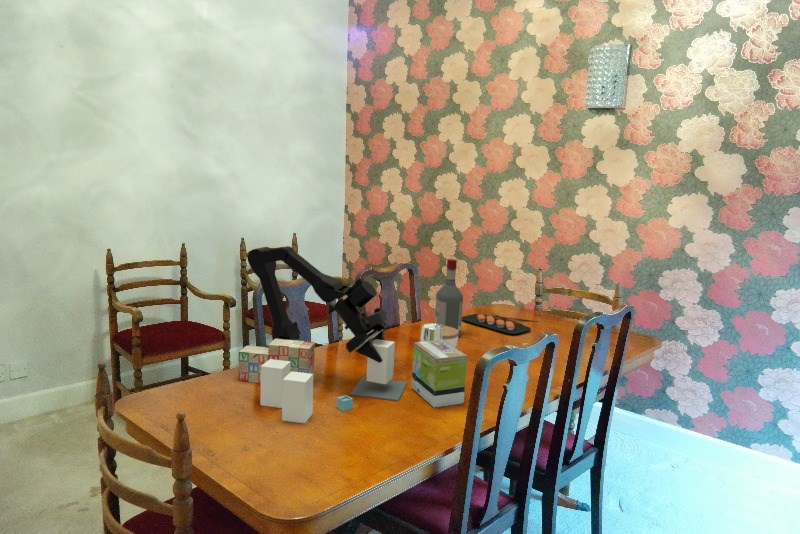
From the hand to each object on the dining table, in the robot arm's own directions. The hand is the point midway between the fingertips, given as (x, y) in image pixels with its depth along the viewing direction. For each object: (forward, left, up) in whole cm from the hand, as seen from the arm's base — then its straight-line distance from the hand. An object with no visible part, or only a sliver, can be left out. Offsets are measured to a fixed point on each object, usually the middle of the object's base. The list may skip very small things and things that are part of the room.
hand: (385, 358), depth 171 cm
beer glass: (+11, +20, -10) cm, 25 cm away
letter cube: (-7, -16, -10) cm, 20 cm away
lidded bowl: (+12, +37, -10) cm, 40 cm away
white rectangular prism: (-1, 0, -7) cm, 7 cm away
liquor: (+12, +62, -10) cm, 64 cm away
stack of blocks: (-32, -3, -10) cm, 34 cm away
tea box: (+16, 0, -10) cm, 19 cm away
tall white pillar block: (-17, -25, -10) cm, 32 cm away
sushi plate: (+34, +90, -10) cm, 96 cm away
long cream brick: (-26, -18, -10) cm, 33 cm away
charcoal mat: (-1, 0, -10) cm, 10 cm away
